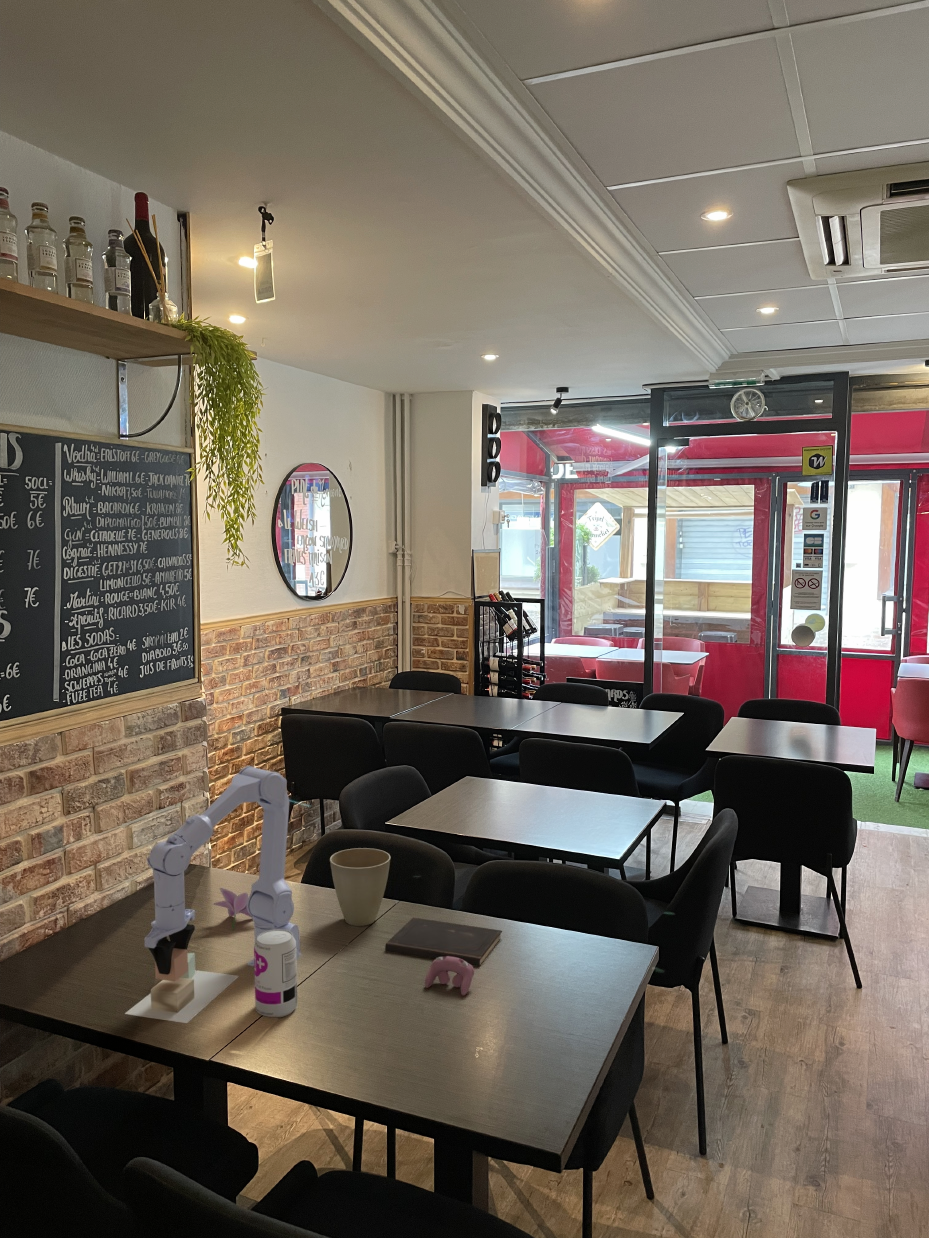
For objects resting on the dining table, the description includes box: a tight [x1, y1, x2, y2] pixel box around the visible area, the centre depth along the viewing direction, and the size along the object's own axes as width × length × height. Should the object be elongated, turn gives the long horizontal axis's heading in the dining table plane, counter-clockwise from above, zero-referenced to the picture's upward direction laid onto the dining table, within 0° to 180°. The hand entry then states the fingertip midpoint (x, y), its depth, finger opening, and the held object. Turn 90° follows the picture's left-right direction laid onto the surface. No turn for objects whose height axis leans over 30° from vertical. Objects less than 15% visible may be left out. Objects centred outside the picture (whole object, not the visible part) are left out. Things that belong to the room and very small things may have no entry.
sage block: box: [181, 952, 196, 979], centre depth 192 cm, size 4×4×4 cm
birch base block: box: [150, 977, 194, 1013], centre depth 181 cm, size 6×6×4 cm
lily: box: [213, 887, 253, 931], centre depth 221 cm, size 12×12×10 cm
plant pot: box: [329, 847, 391, 927], centre depth 223 cm, size 15×15×16 cm
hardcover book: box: [384, 917, 503, 968], centre depth 209 cm, size 16×23×2 cm
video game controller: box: [424, 956, 475, 996], centre depth 189 cm, size 10×5×7 cm, turn 66°
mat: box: [124, 969, 240, 1024], centre depth 185 cm, size 14×20×1 cm
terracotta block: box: [154, 948, 188, 981], centre depth 181 cm, size 4×4×4 cm
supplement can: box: [253, 929, 298, 1019], centre depth 179 cm, size 8×8×15 cm
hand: (171, 967), depth 181 cm, fingers closed on terracotta block, 4 cm apart
